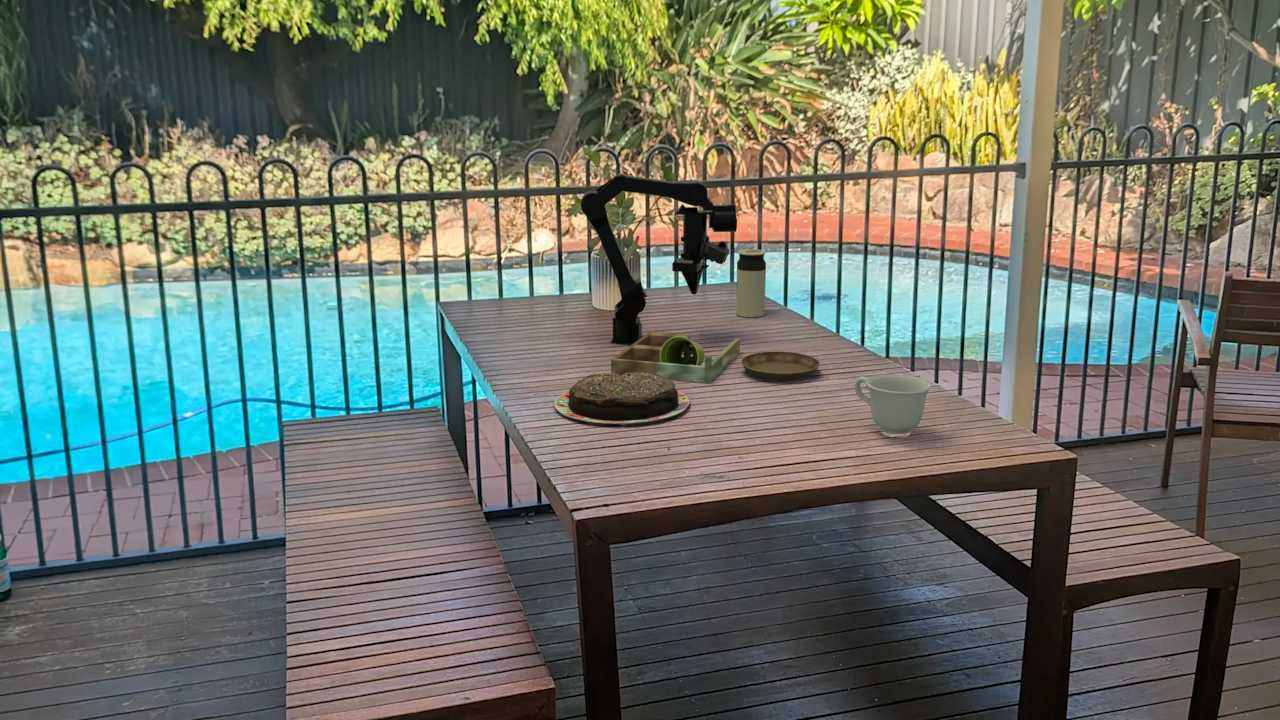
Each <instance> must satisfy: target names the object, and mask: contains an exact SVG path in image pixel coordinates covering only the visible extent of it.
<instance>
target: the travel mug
mask: <svg viewBox="0 0 1280 720" xmlns="http://www.w3.org/2000/svg"><path fill="white" fill-rule="evenodd" d="M737 252H738V255H739V259H738V261H737V262H736V292H735V293H736V297H735V299H736V303H735V314H736V315H737V316H739V317H741V318H747V319H753V318H755V319H756V318H760V317H763V316H764V315H765V313H766V310H765V309H766V307H765V306H766V277H767V275H766V273H767V271H766V270H767V263H766V260H765V259H764V258H765V254H766V251H765V250H762V249H753V248H750V249H748V248H747V249H740V250H738V251H737Z"/></svg>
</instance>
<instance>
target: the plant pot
mask: <svg viewBox="0 0 1280 720" xmlns="http://www.w3.org/2000/svg"><path fill="white" fill-rule="evenodd" d="M690 345H691V346H690ZM682 352H684V353H682ZM705 354H706V353H705V351H704V348H703V347H702V346H701V345H700V344H699V343H697V342H694V341H692V340H690V339H688V338H686V337H682V336H675V337H672V338H670V339H668V340H667V341H666V342H665V343H664V344H663V346H662V348H661V350H660V363H672V364H684V365H695V366H702V365H703V363H704V362H705V356H706V355H705Z"/></svg>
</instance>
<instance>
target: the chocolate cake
mask: <svg viewBox="0 0 1280 720" xmlns="http://www.w3.org/2000/svg"><path fill="white" fill-rule="evenodd" d="M675 387H676V384H675V382H674V381H673V380H667V379H666V378H664V377H663V376H660V375H659V374H657V373H654V372H652V373H649V374H648V373H642V372H641V373H635V372H632V373H625V374H622V373H621V374H615V372H613V373H598V374H597V373H593V374H589V375H587V376H585V377H583V378H582V379H579V380H578V381H576V382H575V383H574V384H573V385H572V386H571V388H570V389H569V390H568V391H566V392H564V393H562V394H560V395H559V396H557V398H555V400H553V402H554V403H553V404H554V405H553V406H554V408H555V409H556V411H558V412H559V413H560V414H561V415H562V416H563V417H565V418H566V419H568V420H575V421H580V422H584V423H587V424H588V425H590V426H607V425H609V426H610V425H611V426H622V427H626V428H627V427H628V428H629V427H639V426H645V425H646V426H647V425H655V424H659V423H664V422H668V421H670V420H671V418H673V417H678V416H679V417H680V416H682V415H683V413H684V412H685V411H686V410H687V409H689V407H690V403H691V400H690V397H688V395H686V394H685V393H684V392H681V391H679V390H677V389H676V388H675ZM687 407H688V408H687Z"/></svg>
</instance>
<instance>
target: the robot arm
mask: <svg viewBox="0 0 1280 720" xmlns="http://www.w3.org/2000/svg"><path fill="white" fill-rule="evenodd" d="M622 192H629V193H637V194H644V195H649V196H657V197H665V198H669V199H672V200H675V201H678V202H679V203H681V205H680V207H678V209H676V210H675V214H676V215H678V216H683V218H682V222H683V223H682V224H683V227H682V229H683V230H682V236H681V237H680V242H682V252H681V253H680V257H679V258H676V259H675V260H674V261H673V262H672V263H671V265H672V266H671V271H672V272H677V273H681V274H682V276H683V278H684V280H685V283H686V285H687V287H688V290H689V291H690V294H692V295H697V294H698V289H699V286H700V283H701V278H702V275H703V272H705V270H707V268H709V267H710V265H709V264H705V263H704V260H705V261H707V260H708V261H710V262H711V263H713V262H715V263H716V264H717V265H722V264H724V263H726V261H727V257H728V256H729V255H730V249H729V248H728V242H726V241H724V240H721V241H720V242H718V244H717V243H713V242H712V241H710V236H709V235H707V221H708V229H712V232H713V233H737V228H738V218H737V210H736V209H737V208H736V207H737V206H736V205H735V204H734V203H731V204H714V202H713V200H710V198H708V189H707V188H706V186H705V185H704V184H703V183H702V182H701V181H699V180H697V179H696V180H694V179H693V180H692V179H691V180H686V179H685V180H677V181H676V180H675V181H673V180H672V181H667V180H661V179H655V178H647V177H641V176H634V175H627V174H625V173H616V174H615V175H614V176H613V177H612V178H611V179H609V180H608V181H606V182H605V183H603V184H602V185H600V187H598V188H597V189H595V190H588V191H586V192H585V193H584V194H583V195H582V197H581V201H580V209H581V210H582V213H583V214H584V216H585V217H586V219H587V220H588V222H589V224H591V226H592V227H593V229H594V230H595V231H596V233H597V236H598V238H599V241H600V244H601V246H602V248H603V250H604V252H605V254H606V257H607V259H608V262H609V263H610V266H611V268H612V270H613V274H614V276H615V278H616V281H617V285H618V287H619V293H620V298H621V299H620V300H619V301H618V302H617V303H616V304H615V305H614V315H615V316H613V317H612V339H611V340H610V343H612V344H623V345H632V344H634V343H635V342H636V341H638V340H639V339H641V338H642V337H643V333H642V332H643V329H642V328H643V324H642V322H641V317H640V316H639V314H640V313H642V312H643V310H644V309H645V307H646V304H647V303H646V301H647V300H646V298H647V297H648V295H647V291H646V289H645V288H644V287H643V284H642V279H641V277H638V278H637V279H635V277H634V276H633V275H632V274H631V271H630V269H629V266H628V264H627V261H626V260H625V257H624V254H623V253H622V250H621V248H620V245H619V242H618V240H617V238H616V235H615V234H614V231H613V229H612V226H611V223H610V220H609V214H608V209H607V206H606V205H607V204H609V203H610V202H611V201H612V200H613V199H615V198H616V197H618V195H619V194H621V193H622ZM684 204H686V205H690V206H691V207H690V206H688V207H687V206H685V205H684ZM698 207H700V208H702V209H703V210H698ZM707 215H708V220H707Z"/></svg>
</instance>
